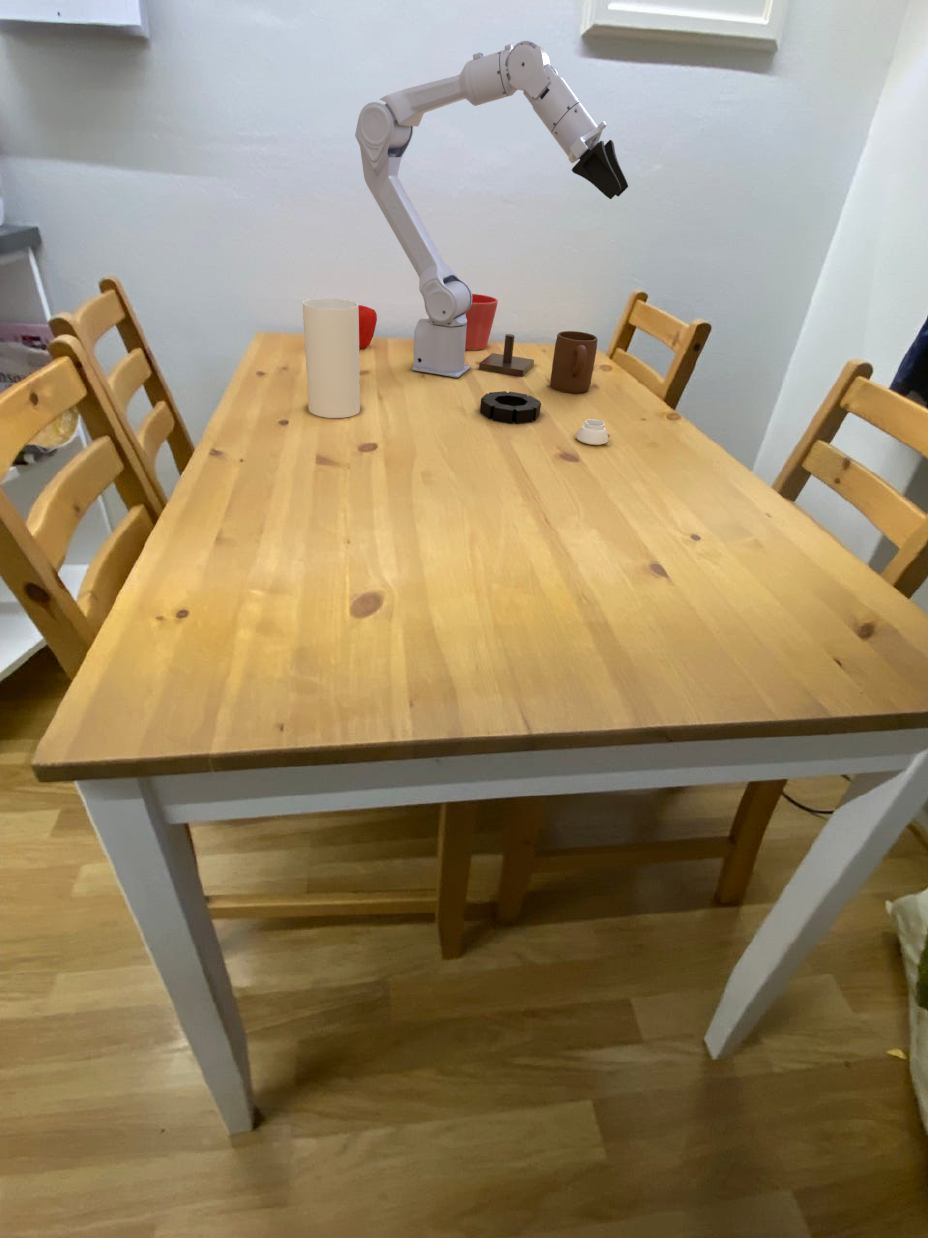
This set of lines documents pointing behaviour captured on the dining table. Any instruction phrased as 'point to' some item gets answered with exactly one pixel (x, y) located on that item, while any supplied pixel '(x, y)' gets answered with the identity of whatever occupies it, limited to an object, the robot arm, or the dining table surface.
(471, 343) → the flower pot
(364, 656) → the dining table surface
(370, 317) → the apple
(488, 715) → the dining table surface
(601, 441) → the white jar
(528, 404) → the ring
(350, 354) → the cup
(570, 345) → the mug
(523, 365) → the post
